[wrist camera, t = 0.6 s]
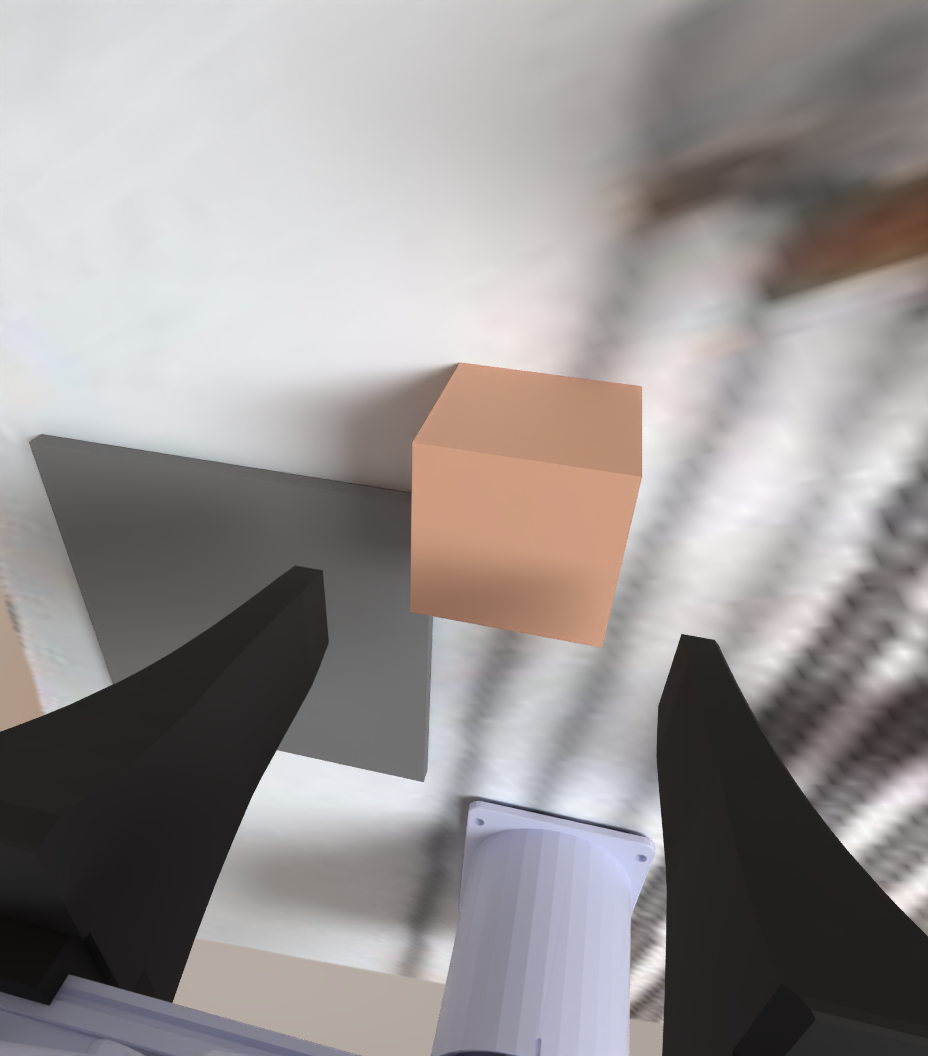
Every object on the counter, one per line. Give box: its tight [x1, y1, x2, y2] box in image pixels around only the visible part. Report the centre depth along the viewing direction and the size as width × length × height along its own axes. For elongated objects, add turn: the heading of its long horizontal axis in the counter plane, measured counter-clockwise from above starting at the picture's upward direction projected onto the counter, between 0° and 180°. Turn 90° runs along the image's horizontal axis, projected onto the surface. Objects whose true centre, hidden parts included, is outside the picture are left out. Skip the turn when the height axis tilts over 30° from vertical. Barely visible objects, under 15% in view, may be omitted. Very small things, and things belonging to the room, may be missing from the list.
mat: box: [29, 435, 433, 782], centre depth 27 cm, size 14×14×1 cm
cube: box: [410, 363, 642, 648], centre depth 18 cm, size 5×5×5 cm
